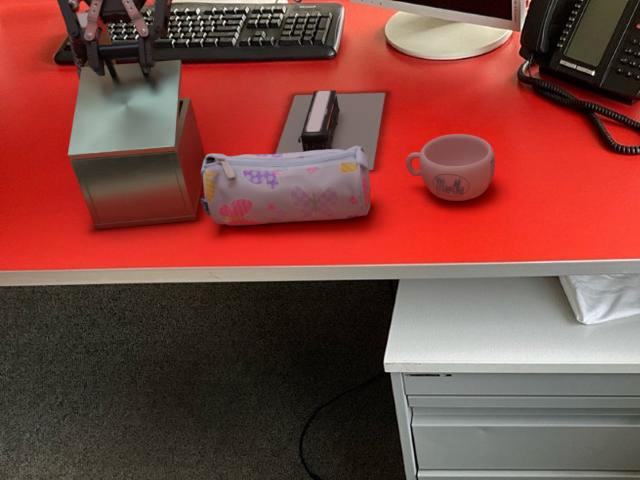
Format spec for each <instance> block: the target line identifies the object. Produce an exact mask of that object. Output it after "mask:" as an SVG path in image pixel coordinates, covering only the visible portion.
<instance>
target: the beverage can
mask: <svg viewBox="0 0 640 480" xmlns="http://www.w3.org/2000/svg"><path fill="white" fill-rule="evenodd" d="M88 12H89V11H85V12H83V11H81V12H76V13H77V16H78V19H79V22H80V25H81V28H82V30H83V31H85V30H86V26H87V22H88V21H87V16H88ZM65 30H66V34H67V38H68V42H69V45H70V50H71V54H72V58H73V61H74V65H75V69H76V72H77V77H78V81H79V82H80V75H81V69H82V67H90V66H89V65H88V58H87V49H86V45H85V44H78V43H77V42H76V41H75V40H74V39H73V38H72V37H71V36H70V35H69V33H68V30H67V27H66V29H65ZM111 44H113V43H112V39H111V35H110V30H109V26H108V27H107V30H106V32H105V33H104V34H103V38H102V41H101V45H111ZM112 63H113V65H117V61H116V59H115V60H112ZM104 66H106V63H105V61H104Z"/></svg>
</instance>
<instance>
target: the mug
mask: <svg viewBox="0 0 640 480" xmlns="http://www.w3.org/2000/svg"><path fill="white" fill-rule="evenodd" d="M414 159H419V160H418V161H419V164H418V165H419V169H418V170H416V169H415V168H414V167H413V165H412V163H413V160H414ZM405 167H406V169H407V171H408V172H409V173H410V174H411V175H412V176H414V177H418V176H419V177H420V176H421V179H422V181H423V182H424V184H425V186H426V187H427V189H428V191H429V192H430V193H432V194H433V195H434V196H435V197H437V198H439V199H441V200H443V201H444V200H445V201H450V202H451V201H452V202H463V201H469V200H473V199H475V198H478V197H479V196H481V195H482V194H484V192H486V191H487V189H488V188H489V187H490V185H491V182H492V180H493V178H494V175H495V168H496V157H495V153H494V149H493V147H492V145H491V144H490V143H489V142H488V141H487V140H485V139H484V138H481V137H479V136H477V135H472V134H465V133H452V134H446V135H445V134H444V135H441V136H438V137H436V138H433V139H431V140H430V141H428V142H426V143H425V144H424V146H423V147H422V148H421V150H420V152H411V153H410V154H408V156H407V157H406V159H405Z"/></svg>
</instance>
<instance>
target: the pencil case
mask: <svg viewBox="0 0 640 480" xmlns="http://www.w3.org/2000/svg"><path fill="white" fill-rule="evenodd" d="M205 156H206V157H205V159H204V161H203V165H202V169H201V176H202V179H203V194H204V198H200V203H201V206H202V209H203V211H204V213H205V214H206V215H207V216H209V217H210V219H211V220H212V221H213V222H214V223H215V224H216V225H226V226H231V227H232V226H235V227H236V226H256V225H266V224H279V223H293V222H310V221H311V222H312V221H331V220H345V219H352V218H357V217H364V216H367V215H368V213H369V212H370V209H371V180H370V179H371V178H370V170H369V169H368V157H367V156H366V155H365V152H364V149H363V148H362V147H359V146H354V147H351V148H349V149H347V150H340V149H327V150H314V151H306V152H295V153H281V154H276V153H262V154H260V153H259V154H255V153H254V154H252V153H251V154H249V153H248V154H247V153H246V154H245V153H244V154H240V155H231V156H228V155H226V154H224V153H216V152H215V153H214V152H213V153H212V152H211V153H208V154H206V155H205Z"/></svg>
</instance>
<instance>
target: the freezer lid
mask: <svg viewBox="0 0 640 480" xmlns="http://www.w3.org/2000/svg"><path fill="white" fill-rule="evenodd" d="M98 51H99V55H100V58H101V60H104V61H105V63H106V66H104V69H105V76H98V75H97V74H96V73H95V72H94V71H93V70H92V69H91V68H90V67H82V69H81V75H80V81H79V83H78V89H77V95H76V99H75V100H76V102H75V106H74V107H75V108H74V112H73V119H72V125H71V132H70V138H69V145H68V149H67V157H68V158H69V161H70V160H73V159H85V158H97V157H109V156H121V155H132V154H144V153H156V152H168V151H176V148H177V133H178V118H179V104H180V98H181V87H182V74H183V73H182V71H183V63H182V60H181V59H175V60H161V61H155V66H154V67H153V68H151V72H149V73H145V72H144V71H143V70H142V68H141V65H140V57H139V47H138V42H127V43H112V44H111V45H99V47H98ZM128 59H137V62H135V63H121V64H116V65H113V63H112V60H115V61H116V60H128Z"/></svg>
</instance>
